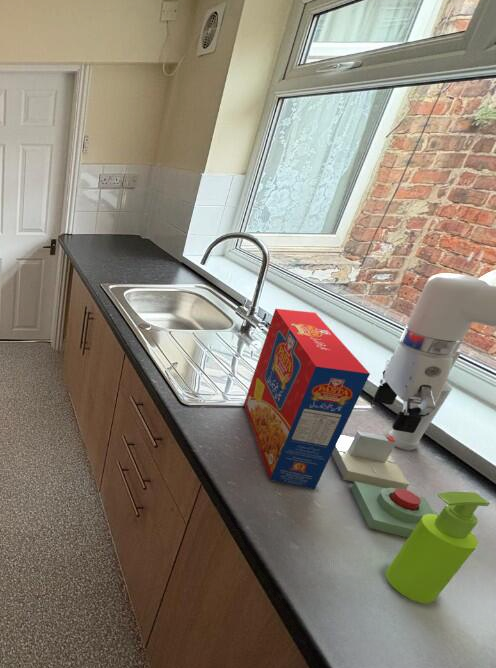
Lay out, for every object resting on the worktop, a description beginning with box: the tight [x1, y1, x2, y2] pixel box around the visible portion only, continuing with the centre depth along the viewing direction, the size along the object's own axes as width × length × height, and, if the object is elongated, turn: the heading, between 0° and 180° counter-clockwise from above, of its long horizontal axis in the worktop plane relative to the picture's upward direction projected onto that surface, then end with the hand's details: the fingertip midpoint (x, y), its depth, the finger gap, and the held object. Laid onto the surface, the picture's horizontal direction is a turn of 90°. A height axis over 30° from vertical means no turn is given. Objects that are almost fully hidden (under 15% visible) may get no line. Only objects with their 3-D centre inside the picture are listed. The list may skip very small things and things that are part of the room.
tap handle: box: [348, 430, 396, 463], centre depth 88 cm, size 6×2×6 cm, turn 67°
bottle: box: [387, 348, 463, 451], centre depth 91 cm, size 5×5×25 cm
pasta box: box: [243, 308, 371, 490], centre depth 92 cm, size 28×8×28 cm, turn 161°
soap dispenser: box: [385, 491, 490, 604], centre depth 63 cm, size 6×7×20 cm
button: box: [391, 489, 421, 511], centre depth 77 cm, size 4×4×2 cm
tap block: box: [331, 434, 410, 490], centre depth 90 cm, size 13×10×3 cm
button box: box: [350, 481, 436, 539], centre depth 78 cm, size 11×10×4 cm
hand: (391, 416), depth 84 cm, fingers open, 9 cm apart
